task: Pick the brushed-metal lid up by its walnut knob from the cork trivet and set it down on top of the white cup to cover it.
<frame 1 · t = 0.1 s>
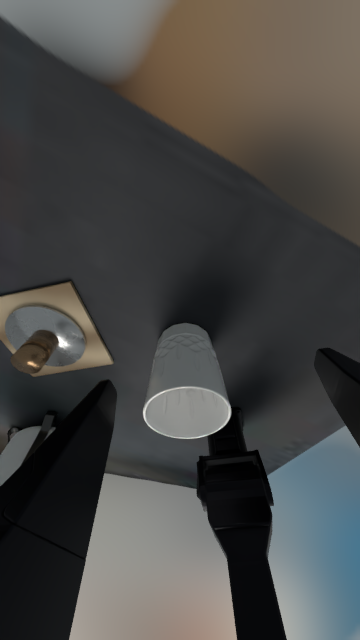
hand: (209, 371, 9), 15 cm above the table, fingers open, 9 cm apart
lid: (48, 336, 26), resting on trivet
coffee press: (59, 429, 39), on the table
white cup: (184, 342, 28), on the table
trivet: (50, 334, 27), on the table
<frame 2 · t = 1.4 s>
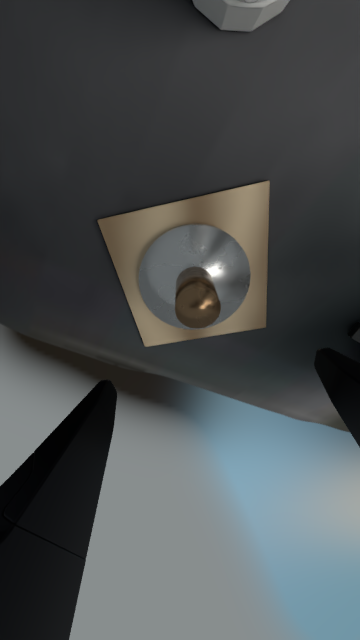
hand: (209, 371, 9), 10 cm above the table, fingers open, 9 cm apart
lid: (193, 281, 18), resting on trivet
trivet: (193, 279, 18), on the table
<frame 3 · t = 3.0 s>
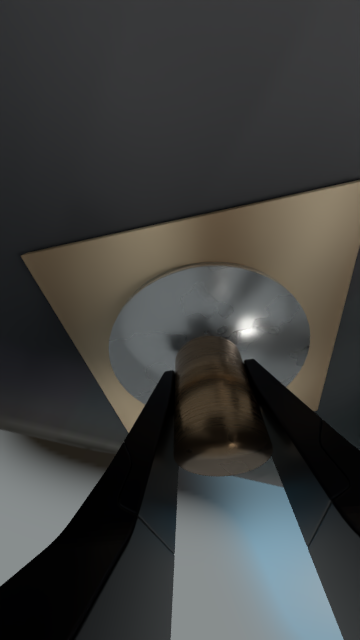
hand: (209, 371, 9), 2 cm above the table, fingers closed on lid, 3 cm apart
lid: (206, 352, 10), resting on trivet, touching gripper
trivet: (205, 347, 11), on the table
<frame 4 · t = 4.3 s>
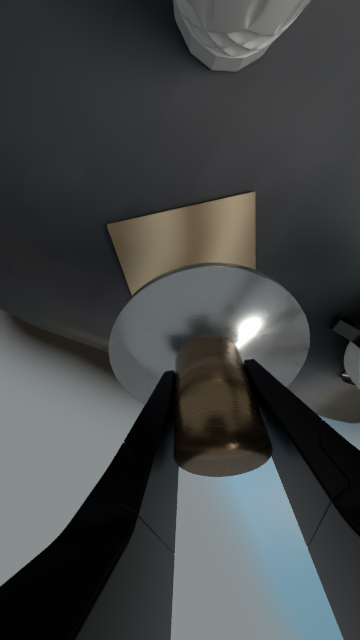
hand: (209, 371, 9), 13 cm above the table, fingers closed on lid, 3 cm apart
lid: (206, 353, 10), point 12 cm above the table, touching gripper
trivet: (190, 277, 20), on the table
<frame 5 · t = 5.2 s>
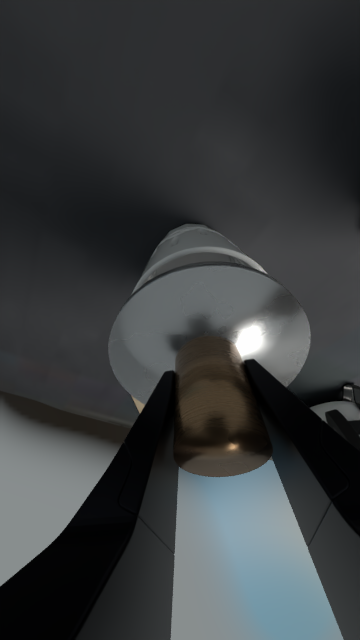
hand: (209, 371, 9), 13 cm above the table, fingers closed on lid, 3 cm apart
lid: (206, 353, 10), point 12 cm above the table, touching gripper
coffee press: (314, 408, 33), on the table
white cup: (191, 261, 20), on the table
when the fingers open (12 cm above the table, at t = 5.8 s): lid drops 1 cm, resting on white cup.
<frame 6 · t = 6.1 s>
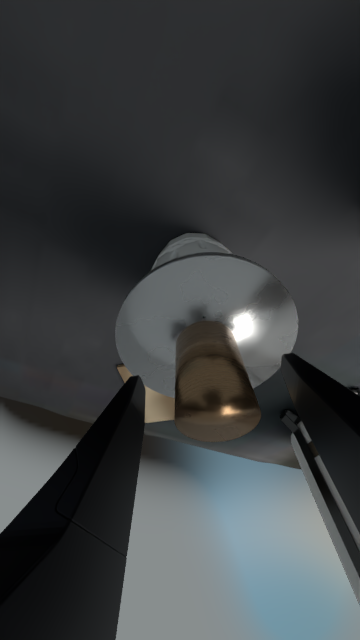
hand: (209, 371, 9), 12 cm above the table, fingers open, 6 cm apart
lid: (204, 338, 11), point 10 cm above the table, touching white cup
coffee press: (319, 413, 32), on the table
white cup: (192, 269, 20), on the table, touching lid
trivet: (175, 390, 29), on the table
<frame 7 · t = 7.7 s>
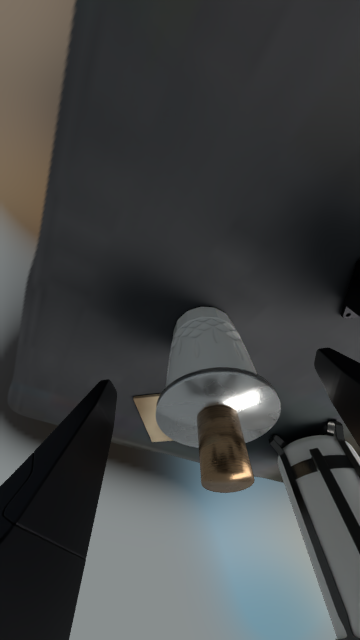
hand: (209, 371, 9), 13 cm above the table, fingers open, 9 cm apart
lid: (216, 410, 16), point 10 cm above the table, touching white cup
coffee press: (302, 438, 37), on the table
white cup: (203, 330, 25), on the table, touching lid
trivet: (181, 416, 34), on the table
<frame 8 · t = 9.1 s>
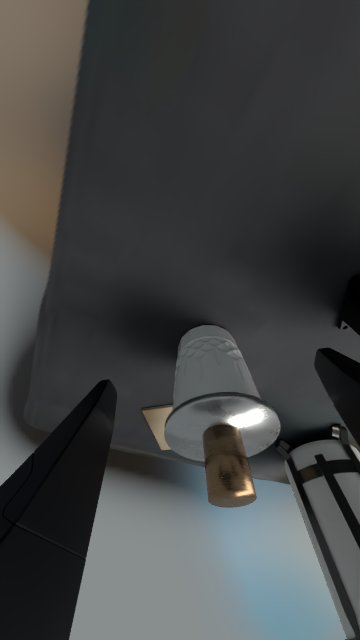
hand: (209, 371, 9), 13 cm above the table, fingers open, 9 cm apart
lid: (220, 427, 17), point 10 cm above the table, touching white cup
coffee press: (308, 442, 38), on the table
white cup: (206, 346, 26), on the table, touching lid
trivet: (188, 425, 35), on the table
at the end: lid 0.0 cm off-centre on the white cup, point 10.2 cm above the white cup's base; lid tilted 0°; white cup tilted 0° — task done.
